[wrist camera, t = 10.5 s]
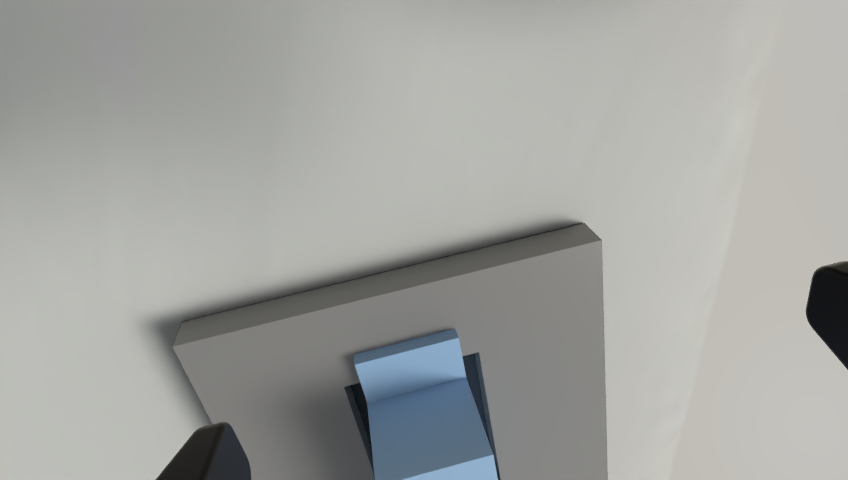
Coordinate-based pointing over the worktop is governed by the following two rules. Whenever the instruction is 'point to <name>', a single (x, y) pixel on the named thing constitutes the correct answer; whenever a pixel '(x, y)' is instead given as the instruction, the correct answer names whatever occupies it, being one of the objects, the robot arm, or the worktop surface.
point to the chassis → (406, 320)
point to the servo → (423, 412)
